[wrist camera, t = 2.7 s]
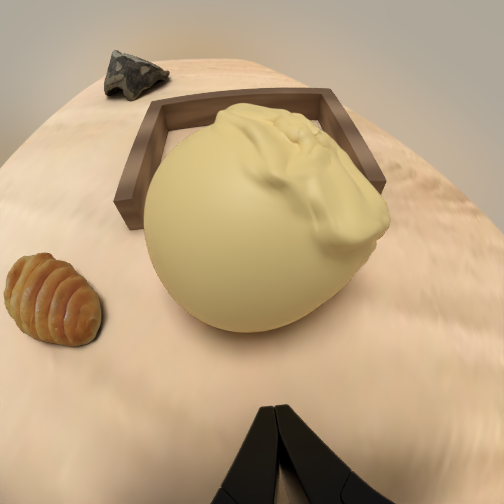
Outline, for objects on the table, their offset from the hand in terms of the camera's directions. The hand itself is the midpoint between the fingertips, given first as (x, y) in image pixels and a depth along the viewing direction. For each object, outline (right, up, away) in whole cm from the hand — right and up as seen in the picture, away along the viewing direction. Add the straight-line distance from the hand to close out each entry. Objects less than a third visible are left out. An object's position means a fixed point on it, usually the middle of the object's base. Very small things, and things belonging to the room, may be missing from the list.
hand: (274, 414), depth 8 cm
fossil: (-19, +31, +31) cm, 48 cm away
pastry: (-16, +1, +11) cm, 19 cm away
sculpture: (0, +4, +12) cm, 13 cm away
